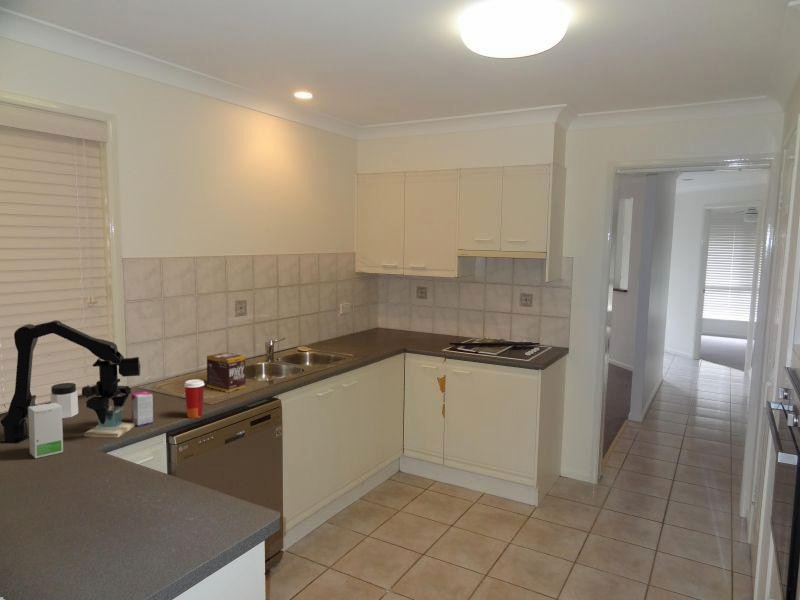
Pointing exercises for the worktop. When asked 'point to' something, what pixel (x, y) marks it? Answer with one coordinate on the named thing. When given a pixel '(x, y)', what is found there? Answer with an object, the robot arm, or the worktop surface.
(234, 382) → the supplement box
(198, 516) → the worktop surface
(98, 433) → the birch stand
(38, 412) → the skincare box
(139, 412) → the supplement box
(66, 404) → the jar
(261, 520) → the worktop surface
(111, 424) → the housing
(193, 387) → the paper cup
